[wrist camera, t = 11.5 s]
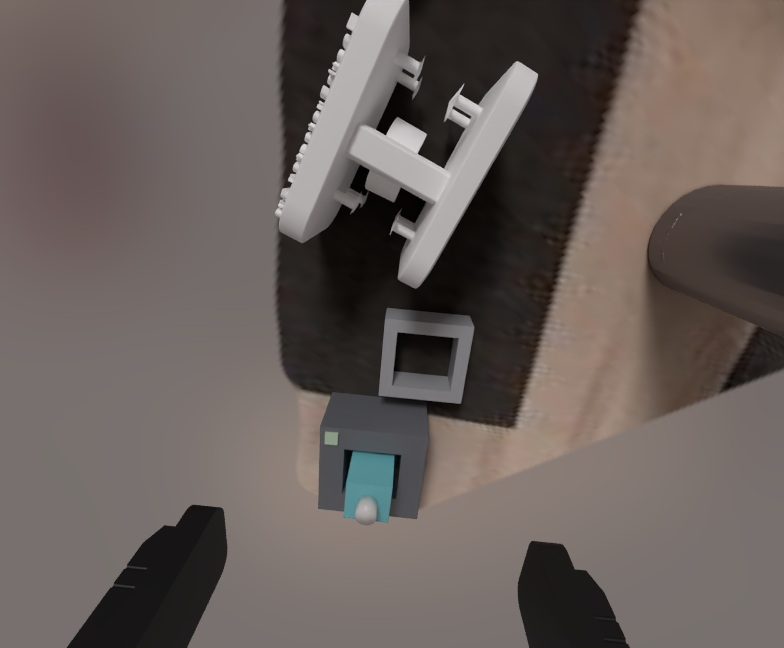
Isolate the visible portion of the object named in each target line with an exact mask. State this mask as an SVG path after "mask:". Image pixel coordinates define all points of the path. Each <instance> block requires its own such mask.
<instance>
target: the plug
mask: <svg viewBox="0 0 784 648" xmlns="http://www.w3.org/2000/svg"><path fill="white" fill-rule="evenodd" d="M394 456H395V454H386V453H376V452H367V451H357V450H353V453H352V458H351V463H350V468H349V472H348V477H347V482H346V493H345V506H344V517H345V518H354V519H356V520H357V522H359V523H360V524H363V525H370V524H373V523H374V522H375V521H380V522H388V518H389V511H390V504H391V496H392V489H393V473H394Z"/></svg>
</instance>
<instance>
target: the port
mask: <svg viewBox="0 0 784 648" xmlns="http://www.w3.org/2000/svg"><path fill="white" fill-rule="evenodd" d="M428 440H429V432H428V417H427V403H426V401H416V400H406V399H396V398H386V397H376V396H366V395H356V394H346V393H336V392H332V395H331V398H330V401H329V404H328V406H327V409H326V412H325V415H324V417H323V420H322V423H321V426H320V459H319V502H318V503H319V504H318V505H319V506H318V509H325V510H336V511H344V506H345V493H346V482H347V477H348V472H349V468H350V463H351V458H352V453H353V450H357V451H367V452H376V453H386V454H395V456H394V473H393V489H392V496H391V504H390V511H389V516H393V517H403V518H413V519H417V514H418V508H419V501H420V494H421V488H422V481H423V474H424V467H425V460H426V453H427V447H428Z"/></svg>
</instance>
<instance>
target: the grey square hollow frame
mask: <svg viewBox="0 0 784 648" xmlns="http://www.w3.org/2000/svg"><path fill="white" fill-rule="evenodd" d="M397 332H400V333H411V334H421V335H431V336H441V337H452V338H454V339H453V345H452V351H451V358H450V364H449V370H448V377H446V376H436V375H426V374H416V373H406V372H396V371H394V361H395V351H396V341H397ZM473 332H474V325H473V323H472V320H471V318H470V316H466V315H456V314H445V313H435V312H425V311H415V310H404V309H394V308H387V311H386V317H385V327H384V339H383V350H382V362H381V374H380V385H379V396H388V397H398V398H408V399H418V400H428V401H438V402H448V403H458V404H461V400H462V395H463V389H464V383H465V378H466V372H467V366H468V361H469V355H470V349H471V344H472V338H473Z"/></svg>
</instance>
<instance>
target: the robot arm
mask: <svg viewBox="0 0 784 648" xmlns="http://www.w3.org/2000/svg"><path fill="white" fill-rule="evenodd" d="M649 261H650V265H651V268H652V270H653V272H654V274H655V275H656V277H657V278H658V279H659V280H660V281H661V282H662V283H664V284H665V285H667V286H668V287H670V288H672V289H675V290H677V291H679V292H681V293H684V294H686V295H688V296H691V297H693V298H695V299H698V300H699V301H702V302H704V303H706V304H709V305H711V306H713V307H716V308H718V309H720V310H723V311H725V312H727V313H729V314H732V315H734V316H736V317H739V318H741V319H743V320H746V321H748V322H750V323H753V324H755V325H757V326H760V327H762V328H764V329H767V330H769V331H771V332H773V333H776V334H778V335H780V336H783V337H784V187H769V186H745V185H713V186H706V187H703V188H700V189H697V190H694V191H692V192H690V193H688V194H686V195H684V196H683V197H681V198H680V199H679V200H677V201H676V202H675V203H673V204H672V205H671V206H670V207H669V208H668V209H667V210H666V212H665V213H664V214H663V215H662V216H661V218H660V219H659V221H658V222H657V224H656V226H655V228H654V230H653V233H652V235H651V239H650V243H649ZM226 557H227V539H226V529H225V518H224V511H223V509H222V508H220V507H211V506H201V505H192V506H190V507H189V508H188V509H187V510H186V512H185V513H184V515H183V516H182V518H181V519H180V521H179V522H178V524H177V525H176V527H175V526H165V525H164V526H163V527H162V528H161V529H160V530H158V531H157V532H156V533H155V534H153V535H152V536H151V537H150V538H148V539H147V540H146V541H145V542H144V543H143V544H142V545H141V547H140V548H139V549H138V551H137V552H136V553H135V555H134V556H133V557H132V559H131V560H130V562H129V563H128V564H127V568H126V569H124V570H123V571H122V573H121V574H120V575H119V577H118V578H117V579H116V581H115V582H114V585H113V587H112V588H110V589H109V590H108V592H107V593H106V595H105V596H104V597H103V599H102V600H101V601H100V603H99V604H98V605H97V607H96V608H95V610H94V611H93V612H92V614H91V615H90V616H89V618H88V619H87V621H86V622H85V623H84V625H83V626H82V628H81V629H80V630H79V632H78V633H77V634H76V636H75V637H74V639H73V640H72V641H71V643H70V644H69V645H68V647H67V648H187V646H188V644H189V642H190V640H191V638H192V636H193V634H194V632H195V630H196V627H197V625H198V623H199V621H200V619H201V617H202V614H203V613H204V611H205V609H206V606H207V604H208V602H209V600H210V598H211V596H212V594H213V592H214V590H215V587H216V585H217V583H218V581H219V579H220V577H221V574H222V572H223V569H224V566H225V562H226ZM518 602H519V608H520V612H521V616H522V620H523V624H524V628H525V632H526V636H527V640H528V644H529V648H630V647H629V645H628V644H626V641H625V639H626V638H625V637H624V634H623V632H622V630H621V628H620V626H619V623H617V622H616V617H615V615H614V613H613V611H612V608H611V606H610V604H609V602H608V600H607V598H606V595H605V593H604V592H603V591H602V589H601V588H600V587H599V586H598V585H597V583H596V582H595V581H594V580H593V578H592V577H591V576H590V575H589V574H588V572H587V571H584V570H575V569H574V567H573V564H572V562H571V559H570V557H569V555H568V552H567V550H566V548H565V547H564V546H563V545H562V544H557V543H546V542H537V541H532V542H530V544H529V547H528V550H527V554H526V557H525V560H524V564H523V567H522V571H521V574H520V577H519V582H518Z"/></svg>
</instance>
